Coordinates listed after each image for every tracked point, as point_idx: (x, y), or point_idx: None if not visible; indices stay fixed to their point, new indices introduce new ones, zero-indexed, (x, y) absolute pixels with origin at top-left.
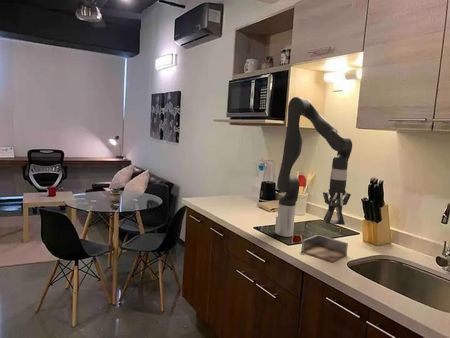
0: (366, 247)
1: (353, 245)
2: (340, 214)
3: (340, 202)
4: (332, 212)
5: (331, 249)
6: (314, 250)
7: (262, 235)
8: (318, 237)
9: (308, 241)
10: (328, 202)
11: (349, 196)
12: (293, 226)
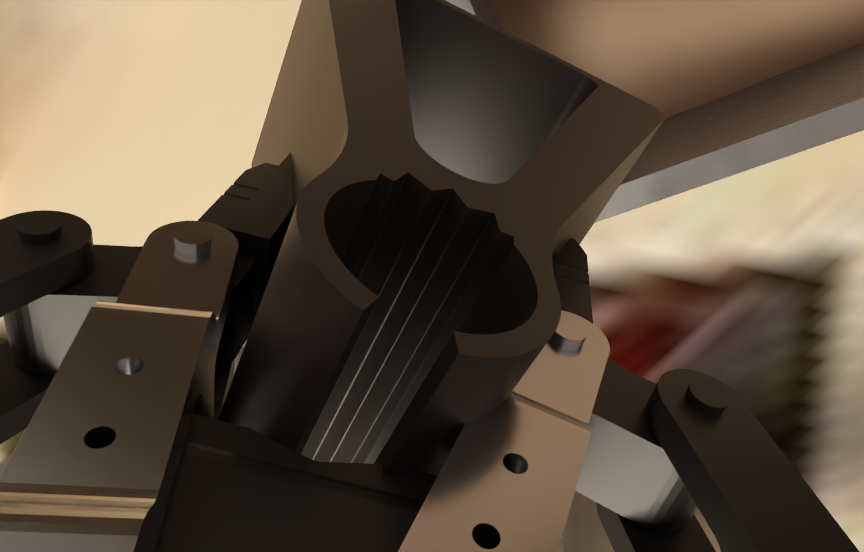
0: (21, 23)
1: (136, 105)
2: (379, 38)
3: (306, 205)
4: (576, 150)
5: (497, 1)
6: (735, 16)
7: (860, 499)
8: None
9: (812, 102)
10: (710, 421)
11: None
12: (594, 501)
